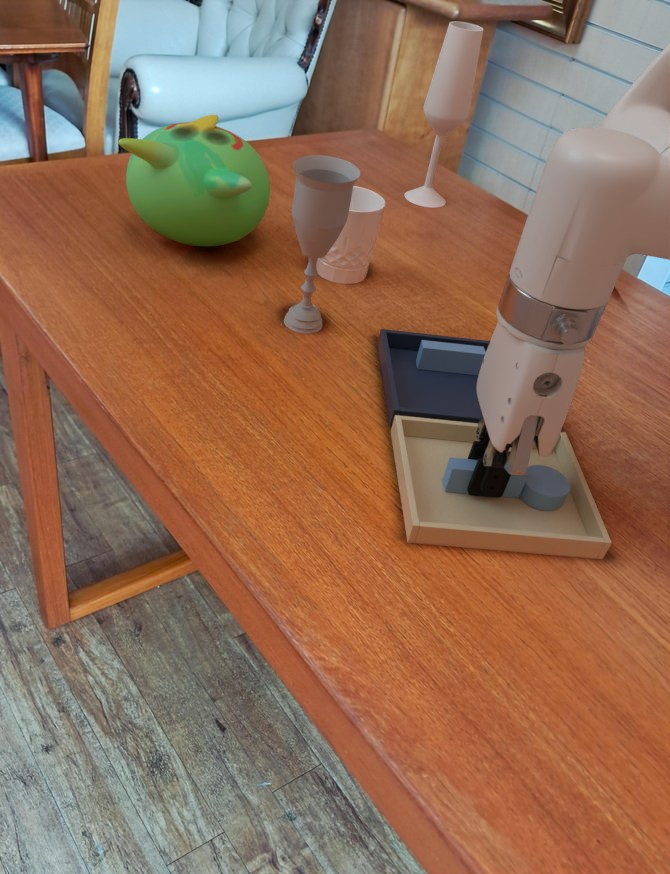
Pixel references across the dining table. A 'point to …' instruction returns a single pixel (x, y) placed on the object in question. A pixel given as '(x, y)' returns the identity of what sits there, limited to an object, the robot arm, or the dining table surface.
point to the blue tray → (425, 380)
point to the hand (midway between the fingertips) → (481, 484)
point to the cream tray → (488, 498)
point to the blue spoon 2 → (514, 484)
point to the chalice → (318, 223)
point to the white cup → (354, 240)
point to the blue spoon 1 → (450, 357)
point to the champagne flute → (449, 98)
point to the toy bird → (197, 183)
